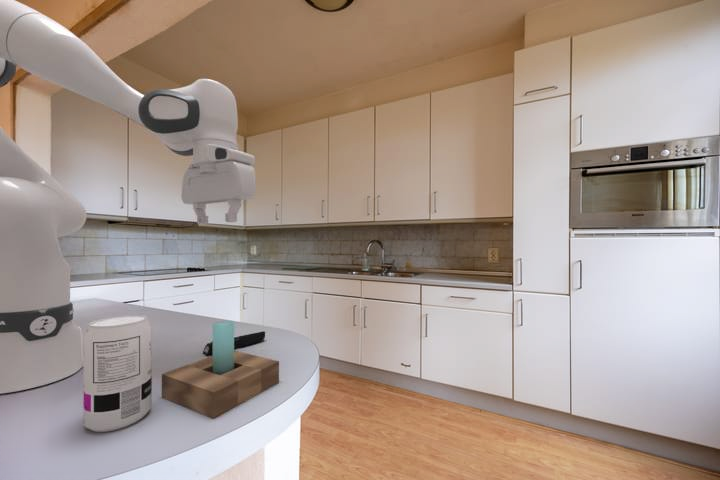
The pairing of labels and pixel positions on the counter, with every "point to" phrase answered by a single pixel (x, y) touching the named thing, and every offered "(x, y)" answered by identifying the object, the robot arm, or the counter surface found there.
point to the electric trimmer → (238, 342)
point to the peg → (223, 347)
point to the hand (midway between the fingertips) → (216, 223)
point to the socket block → (219, 383)
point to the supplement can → (117, 372)
